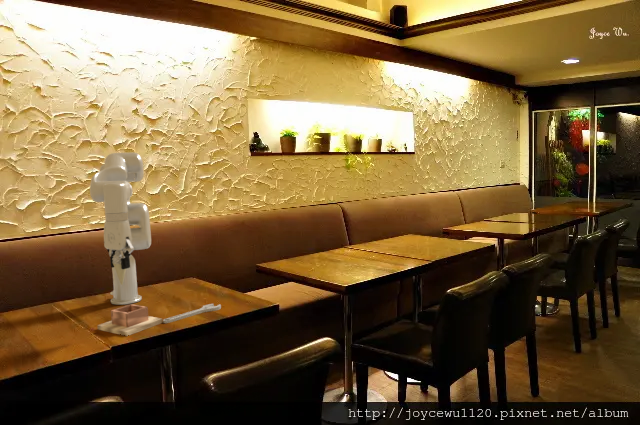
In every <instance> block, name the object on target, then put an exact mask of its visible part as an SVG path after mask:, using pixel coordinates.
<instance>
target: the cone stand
mask: <svg viewBox="0 0 640 425" xmlns="http://www.w3.org/2000/svg"><path fill="white" fill-rule="evenodd" d="M110 314H111V320H109V321H106V322H104V323H100V324H97V330H99V331H103V332H108V333H112V334H115V335H116V334H117V335H120V334H121V336H124V335H125V336H124V337H128V335H129V336H131V335H134V334H136V333H140V332H141V331H144V330H147V329H150V328H152V327H155V326H157V325H160V324H164V323H163V320H164V319H163V318H160V317H156V316H155V317H154V316H151V315H149V308H148V306H144V305H139V304H134V303H131V304H126V305H124V306H120V307H118V308H115V309H112V310H110Z"/></svg>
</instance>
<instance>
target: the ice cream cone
mask: <svg viewBox="0 0 640 425" xmlns="http://www.w3.org/2000/svg"><path fill="white" fill-rule="evenodd" d="M121 258H122V255H121V252H120V251H119V250H116V251H115V255H114V256H113V258H112V260H113V265H114V267H115V270H116V273H117V275H118V278H119V281H120V283H121V285H123V280H124V275H125V271H126V269H122V268H121Z"/></svg>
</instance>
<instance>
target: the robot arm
mask: <svg viewBox="0 0 640 425" xmlns="http://www.w3.org/2000/svg"><path fill="white" fill-rule="evenodd" d="M144 172H145V171H144V161H143V158H142V156H141V155H140V154H139V153H137V152H113V153H109V154H108V155H107V156H106V157H105V160H104V163H103V164H102V165H100V167H99V171H98V172H96V173H95V174H93V175H92V177H91V180H90V185H89V194H90V198H91V199H92V201H93V202H95V203H103V204H104V206H103V207H104V218H105V221H104V225H103V226H104V227H103V244H104V245H103V246H104V248H105V249H106V250H107V252H108V255H109V257H110V267H111V272H112V283H113V284H112V285H113V290H112V291H111V292H110V295H112V296H113V298H111V299H110V303H111V304H112V305H117V306H118V305H124V306H125V305H130V304H134V303H138V302H140V301H141V300H142V299H143V298H142V297H143V296H142V295H140V294H139V292H138V282H137V280H138V278H137V265H136V259H135V257H134V256H133V255H132V253H133V252H134V251H139V250H140V251H141V250H145V249H146V250H147V249H149V248H150V247H151V245H152V232H151V220H150V219H151V218H150V210H149V208H148V206H147V204H146V203H143V202H135V203H134V202H133V203H132V202H131V197H133V186H132V185H131V183H135V182H141V181H142V180H143V179H144V174H145V173H144ZM131 226H137V227H131ZM116 250H119V251H120V252H121V255H122V258H121V268H122V269H126V271H125V275H124V280H123V285H121V283H120V281H119V278H118V275H117V273H116V270H115V267H114V265H113V260H112V258H113V256H114V255H115V251H116Z"/></svg>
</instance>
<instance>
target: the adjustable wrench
mask: <svg viewBox="0 0 640 425" xmlns="http://www.w3.org/2000/svg"><path fill="white" fill-rule="evenodd" d="M221 308H222V305H221V304H220V303H219V304H217V305H214V303H209V304H205V305H202V306H201V308H199V309H194V310H191V311H187V312H184V313H182V314H177V315H174V316H170V317H167V318H164V319H163V323H162V324H169V323H173V322H176V321H179V320H183V319H186V318H187V319H188V318H190V317H192V316H196V315H200V314H203V313H207V312H215V311H219V310H221Z"/></svg>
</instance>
